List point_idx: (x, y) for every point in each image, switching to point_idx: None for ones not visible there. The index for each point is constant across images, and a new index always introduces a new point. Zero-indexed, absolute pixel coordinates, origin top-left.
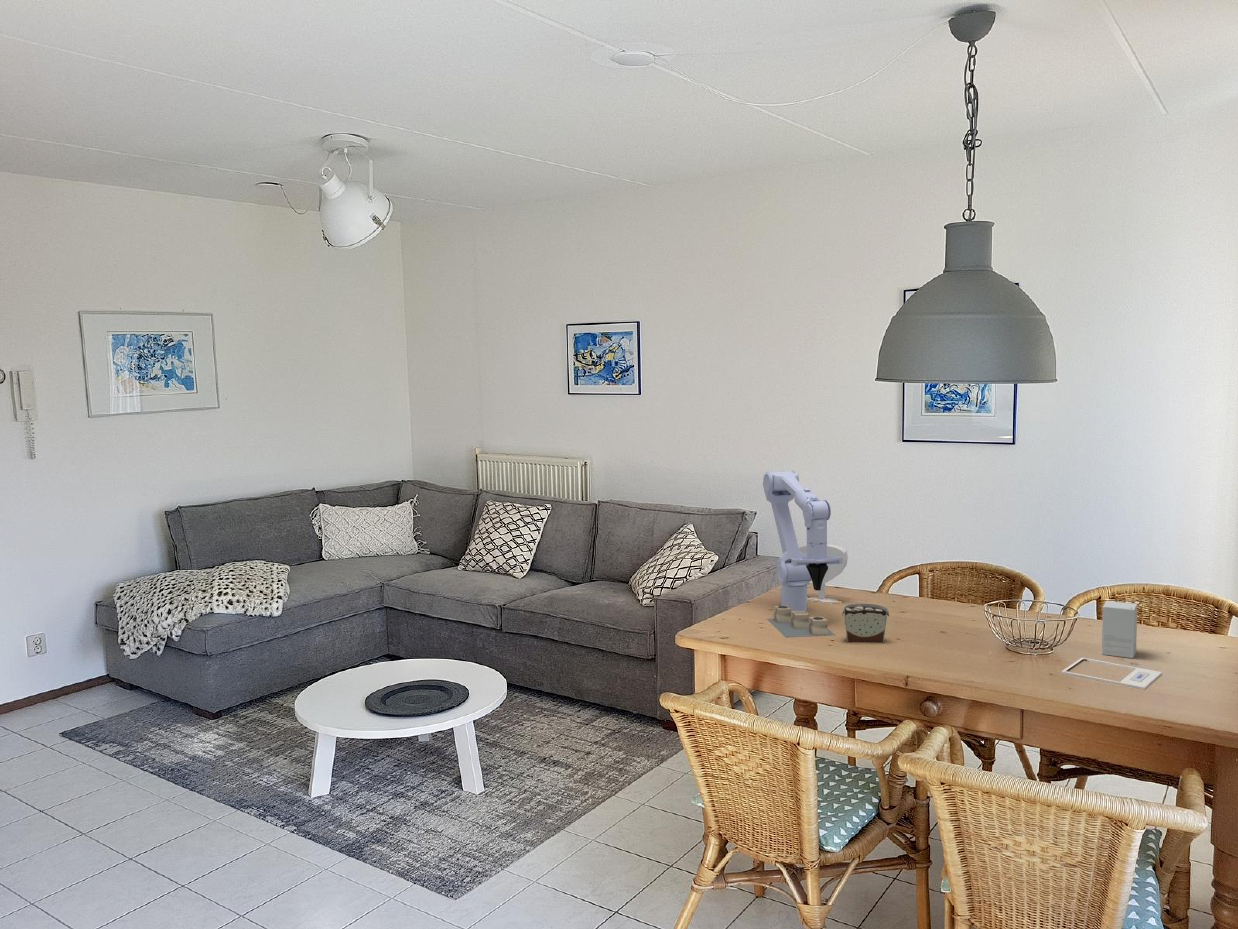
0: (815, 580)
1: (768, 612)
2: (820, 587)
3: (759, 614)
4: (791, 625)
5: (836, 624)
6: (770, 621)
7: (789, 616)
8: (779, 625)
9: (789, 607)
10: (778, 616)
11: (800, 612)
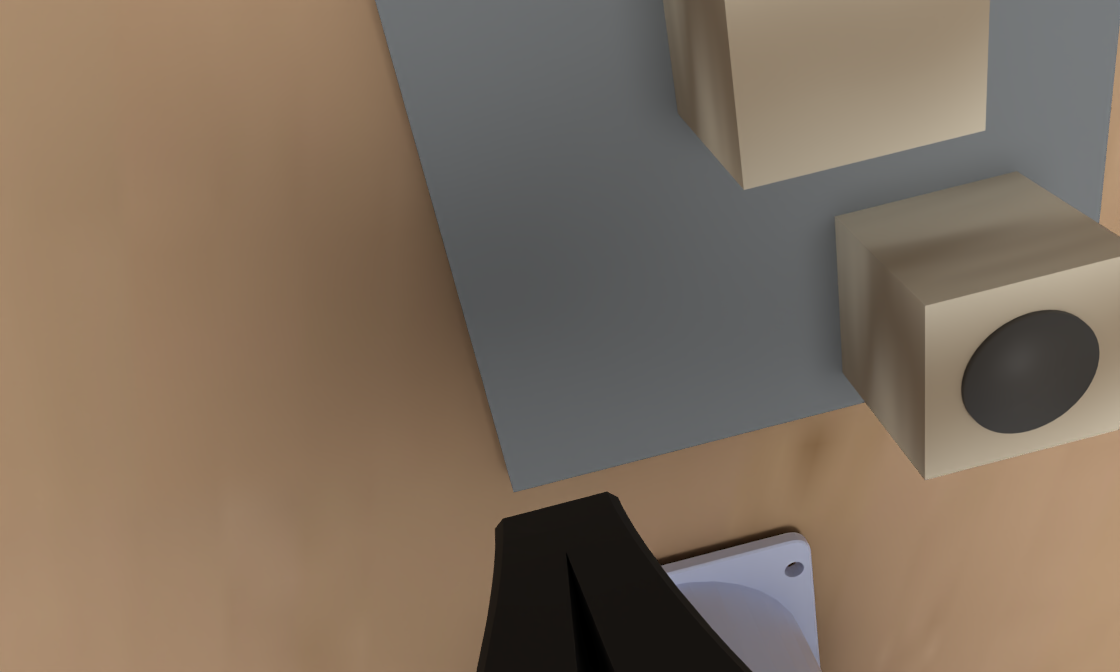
0: (718, 665)
1: (931, 646)
2: (506, 560)
3: (1040, 573)
4: None
5: (207, 290)
6: None
7: (898, 246)
8: (1042, 33)
9: (934, 371)
10: (1062, 207)
11: (846, 65)
